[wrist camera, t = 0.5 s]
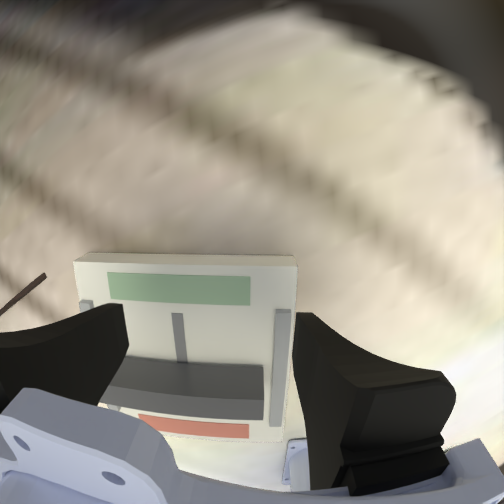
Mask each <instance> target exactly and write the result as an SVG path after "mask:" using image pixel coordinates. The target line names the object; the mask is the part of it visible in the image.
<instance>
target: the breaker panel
mask: <svg viewBox="0 0 504 504" xmlns="http://www.w3.org/2000/svg"><path fill="white" fill-rule="evenodd" d="M73 265H74V272H75V278H76V284H77V290H78V295H79V300H80V302H79V307H80V312H81V313H82V312H84V311H87V310H89V309H92V308H95V307H97V306H100V305H103V304H106V303H119V304H123V310H124V316H125V322H126V328H127V334H128V340H129V347H128V350H127V353H126V355H125V357H128V358H135V359H144V360H152V361H162V362H173V363H184V364H198V365H216V366H242V367H263V369H264V416H263V420H229V419H212V418H199V417H188V416H179V415H170V414H162V413H155V412H148V411H142V410H136V409H130V408H125V407H120V406H115V405H110V404H107V406H108V408H109V409H111V410H115V411H120V412H123V413H125V414H128V415H131V416H133V417H136V418H139V419H142V420H143V421H144V422H146V423H147V424H148V425H150V426H151V427H153V428H154V429H156V430H157V431H158V432H160V433H161V434H162V435H166V436H174V437H182V438H191V439H201V440H213V441H229V442H282V438H283V429H284V421H285V413H286V404H287V395H288V385H289V375H290V365H291V354H292V343H293V331H294V318H295V305H296V290H297V274H298V265H297V263H296V261H295V258H294V256H268V255H201V254H141V253H87V254H85V255H84V256H82V257H80V258H78V259H76V260H75V261H73Z"/></svg>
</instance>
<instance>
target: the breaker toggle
mask: <svg viewBox="0 0 504 504" xmlns="http://www.w3.org/2000/svg"><path fill="white" fill-rule="evenodd" d="M99 402H101V403H105V404H110V405H115V406H120V407H125V408H130V409H136V410H142V411H148V412H155V413H162V414H170V415H179V416H188V417H199V418H212V419H229V420H263V416H264V369H263V367H242V366H216V365H198V364H184V363H173V362H162V361H152V360H144V359H135V358H128V357H125V358H124V360H123V362H122V364H121V366H120V367H119V369H118V371H117V372H116V374H115V376H114V377H113V379H112V381H111V382H110V384H109V386H108V387H107V389H106V391H105V392H104V394H103V396H102V397H101V399H100V401H99Z"/></svg>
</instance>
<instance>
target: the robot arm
mask: <svg viewBox="0 0 504 504" xmlns="http://www.w3.org/2000/svg"><path fill="white" fill-rule="evenodd" d="M128 347H129V340H128V334H127V328H126V322H125V316H124V310H123V304H119V303H106V304H103V305H100V306H97V307H95V308H92V309H89V310H87V311H84V312H82V313H79V314H77V315H74V316H72V317H69V318H66V319H64V320H61V321H58V322H55V323H52V324H49V325H45V326H41V327H37V328H33V329H27V330H21V331H15V332H4V333H0V504H497V503H498V502H499V501H500V500H501V499H502V498H503V497H504V476H503V474H502V473H501V471H500V469H499V468H498V466H497V465H496V463H495V461H494V460H493V458H492V457H491V455H490V454H489V452H488V450H487V449H486V447H485V446H484V444H483V443H482V441H481V440H480V438H477V439H474V440H472V441H469V442H467V443H464V444H461V445H458V446H455V447H453V448H451V449H450V450H449V451H447V452H446V453H444V452H443V450H442V448H441V446H442V445H443V444H444V439H443V437H442V436H441V434H440V432H441V431H442V429H443V427H444V425H445V423H446V422H447V420H448V418H449V416H450V414H451V412H452V410H453V407H454V405H455V402H456V392H455V389H454V387H453V386H452V385H451V383H450V382H449V381H448V380H447V378H446V377H445V376H444V374H443V373H442V372H441V371H435V370H428V369H421V368H415V367H411V366H407V365H403V364H399V363H396V362H393V361H390V360H387V359H384V358H382V357H379V356H377V355H374V354H372V353H370V352H368V351H366V350H364V349H362V348H360V347H358V346H357V345H355V344H353V343H352V342H350V341H349V340H347V339H346V338H344V337H342V336H341V335H340V334H338V333H337V332H336V331H334V330H333V329H332V328H330V327H329V326H328V325H327V324H325V323H324V322H323V321H322V320H321V319H319V318H318V317H317V316H316V315H314V314H313V313H304V312H296V322H295V332H294V342H293V351H292V360H293V371H294V377H295V382H296V386H297V390H298V394H299V398H300V402H301V407H302V411H303V415H304V420H305V427H306V436H307V439H304V440H291V441H289V443H288V448H287V454H286V460H285V466H284V472H283V478H282V484H284V485H291V492H278V491H271V490H264V489H258V488H252V487H247V486H242V485H237V484H232V483H227V482H223V481H219V480H214V479H210V478H207V477H203V476H199V475H195V474H192V473H188V472H185V471H182V470H179V469H178V467H177V465H176V462H175V459H174V455H173V451H172V449H171V447H170V446H169V445H168V443H167V442H166V440H165V438H164V437H163V435H162V434H161V433H160V432H158V431H157V430H156V429H154V428H153V427H151V426H150V425H148V424H147V423H146V422H144V421H143V420H142V419H139V418H136V417H133V416H131V415H128V414H125V413H123V412H120V411H115V410H111V409H106V408H102V407H98V406H97V405H98V403H99V401H100V399H101V397H102V396H103V394H104V392H105V391H106V389H107V387H108V386H109V384H110V382H111V381H112V379H113V377H114V376H115V374H116V372H117V371H118V369H119V367H120V366H121V364H122V362H123V360H124V358H125V355H126V353H127V350H128Z"/></svg>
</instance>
